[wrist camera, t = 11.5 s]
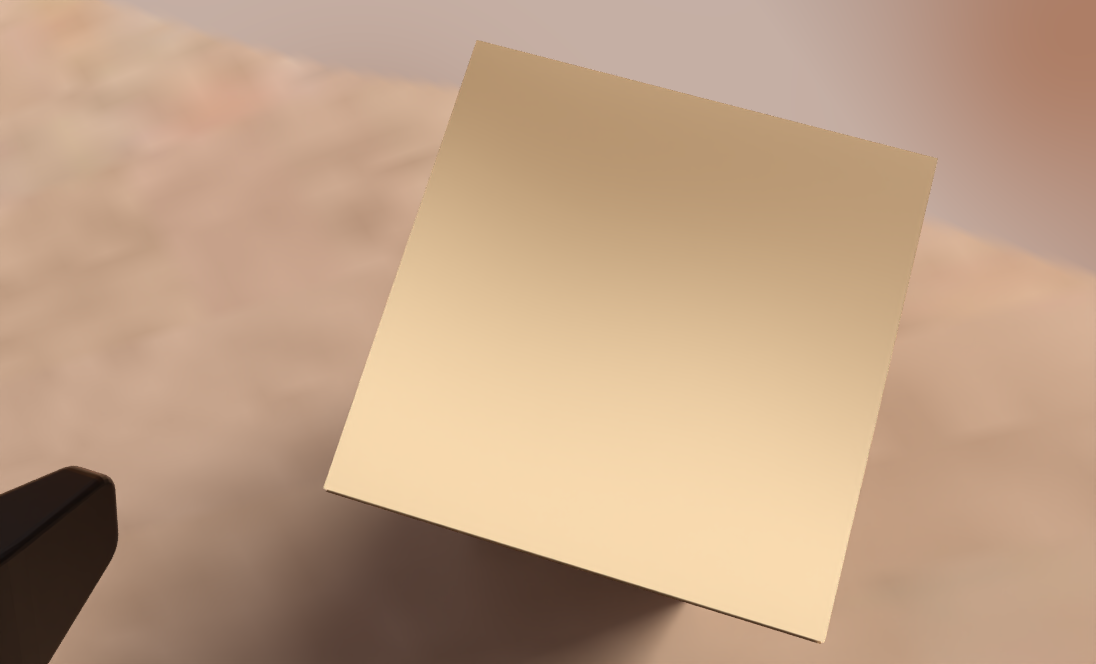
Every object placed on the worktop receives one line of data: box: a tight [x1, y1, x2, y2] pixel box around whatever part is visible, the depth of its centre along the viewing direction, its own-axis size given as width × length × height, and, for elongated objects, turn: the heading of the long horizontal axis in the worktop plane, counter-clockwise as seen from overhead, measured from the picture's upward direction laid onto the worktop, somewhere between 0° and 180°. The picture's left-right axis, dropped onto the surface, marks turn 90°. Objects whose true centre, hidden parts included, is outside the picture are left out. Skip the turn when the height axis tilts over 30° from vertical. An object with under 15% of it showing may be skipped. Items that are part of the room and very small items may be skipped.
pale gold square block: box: [324, 40, 938, 644], centre depth 13 cm, size 4×4×10 cm
